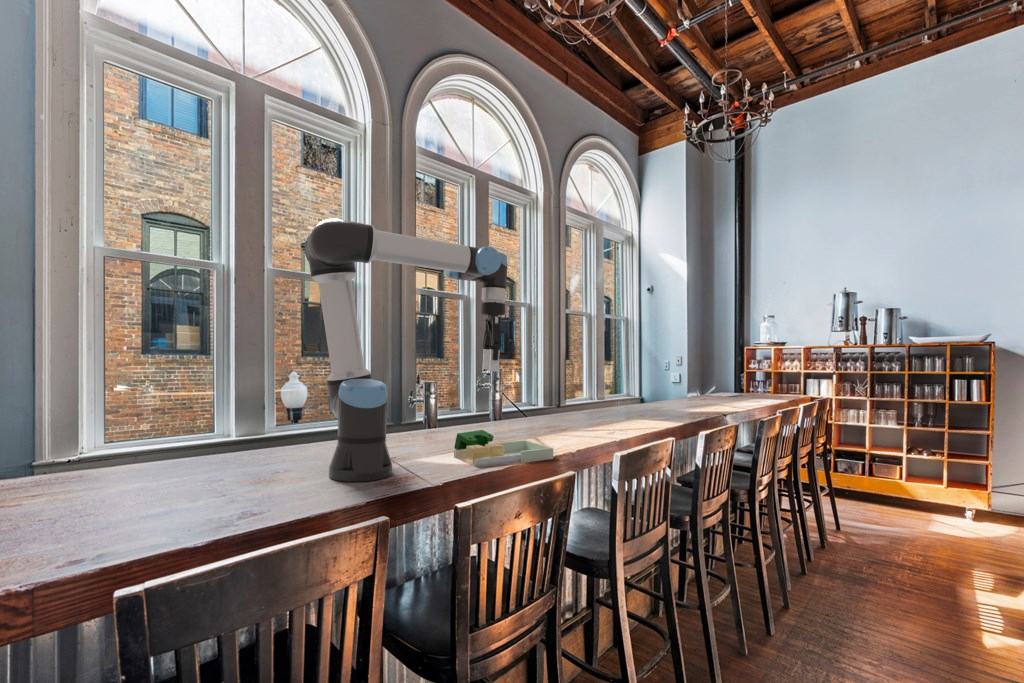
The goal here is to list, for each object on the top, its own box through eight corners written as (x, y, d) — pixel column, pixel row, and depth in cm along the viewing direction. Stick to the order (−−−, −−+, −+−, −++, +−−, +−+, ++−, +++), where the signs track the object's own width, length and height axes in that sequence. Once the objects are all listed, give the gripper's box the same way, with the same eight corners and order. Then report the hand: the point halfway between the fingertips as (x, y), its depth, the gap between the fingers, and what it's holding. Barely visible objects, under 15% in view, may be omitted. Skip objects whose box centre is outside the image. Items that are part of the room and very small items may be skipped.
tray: (521, 465, 141) (521, 451, 141) (495, 455, 153) (495, 442, 153) (553, 461, 147) (553, 448, 147) (525, 452, 159) (525, 439, 159)
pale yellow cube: (491, 460, 142) (492, 446, 142) (484, 458, 145) (485, 444, 145) (503, 459, 144) (504, 445, 144) (496, 456, 148) (496, 443, 148)
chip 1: (472, 462, 139) (473, 448, 139) (466, 459, 142) (466, 445, 142) (485, 461, 141) (485, 447, 141) (478, 458, 144) (478, 444, 144)
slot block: (476, 470, 134) (476, 459, 134) (453, 459, 145) (454, 450, 145) (520, 464, 142) (520, 454, 142) (495, 455, 153) (496, 446, 153)
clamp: (468, 467, 155) (465, 443, 151) (456, 459, 159) (452, 436, 155) (496, 448, 163) (494, 425, 159) (484, 441, 166) (481, 418, 163)
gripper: (513, 299, 147) (510, 372, 146) (498, 306, 171) (495, 369, 170) (488, 297, 145) (484, 371, 145) (476, 304, 169) (473, 368, 169)
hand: (490, 370), depth 157 cm, fingers open, 13 cm apart
